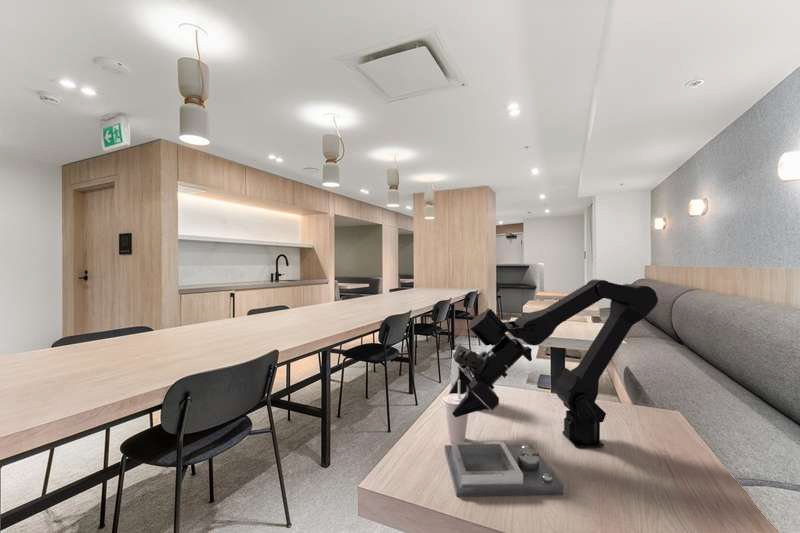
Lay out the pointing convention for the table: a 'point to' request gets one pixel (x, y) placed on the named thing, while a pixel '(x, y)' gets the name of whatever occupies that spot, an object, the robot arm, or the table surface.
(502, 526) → the table surface
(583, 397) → the robot arm
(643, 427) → the table surface
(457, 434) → the smoothie
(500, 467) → the grey tray with knobs
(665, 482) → the table surface
